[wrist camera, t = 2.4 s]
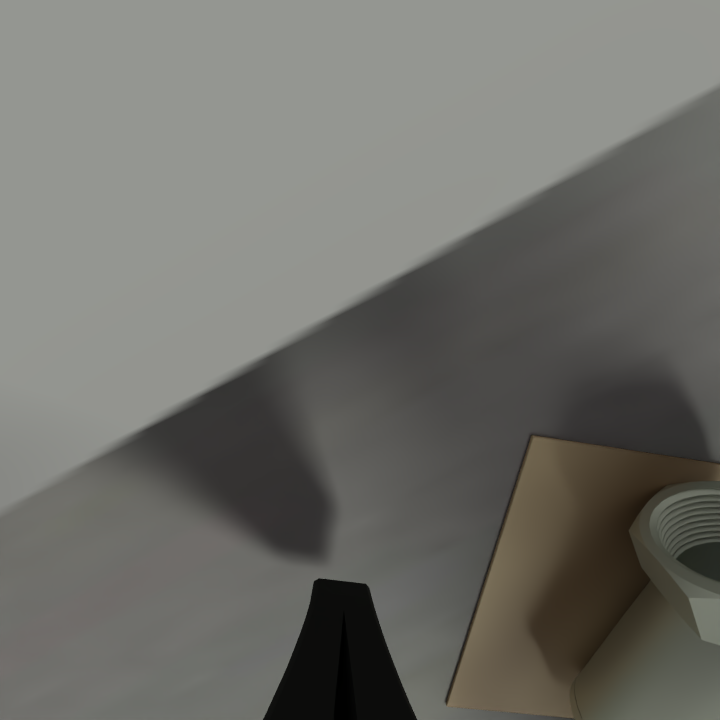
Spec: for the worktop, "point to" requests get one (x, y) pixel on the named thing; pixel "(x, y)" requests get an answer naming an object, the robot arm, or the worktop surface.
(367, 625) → the robot arm
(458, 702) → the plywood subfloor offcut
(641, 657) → the pipe fitting
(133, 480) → the worktop surface
